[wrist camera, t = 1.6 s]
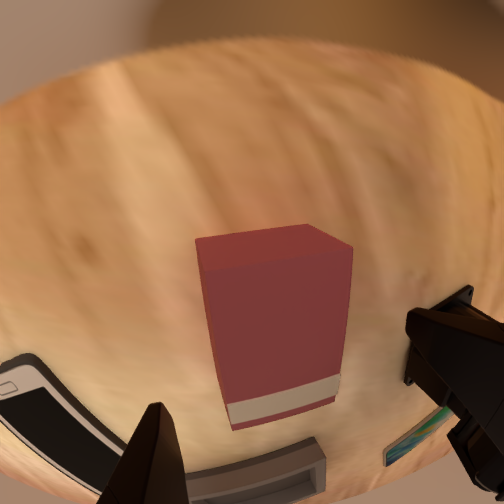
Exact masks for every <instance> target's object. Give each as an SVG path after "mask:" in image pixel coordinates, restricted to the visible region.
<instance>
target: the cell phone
mask: <svg viewBox="0 0 504 504" xmlns="http://www.w3.org/2000/svg"><path fill="white" fill-rule="evenodd" d="M0 422H1V423H2V424H3V425H4V426H5V427H6V428H7V429H8V430H9V431H11V432H12V433H13V434H14V435H15V436H16V437H17V438H18V439H19V440H21V441H22V442H23V443H24V444H25V445H26V446H28V447H29V448H30V449H31V450H32V451H34V452H35V453H36V454H37V455H39V456H40V457H41V458H43V459H44V460H45V461H47V462H48V463H49V464H51V465H52V466H53V467H55V468H56V469H58V470H59V471H60V472H62V473H63V474H65V475H66V476H68V477H69V478H71V479H72V480H74V481H76V482H77V483H79V484H80V485H82V486H84V487H85V488H87V489H89V490H90V491H92V492H94V493H96V494H98V495H100V496H101V494H102V492H103V490H104V488H105V486H106V485H108V484H107V482H108V481H109V479H110V477H111V475H112V473H113V471H114V469H115V467H116V465H117V463H118V461H119V460H120V458H121V456H122V454H123V452H124V450H125V448H126V446H127V444H126V443H125V442H123V441H122V440H121V439H120V438H118V437H117V436H116V435H115V434H114V433H113V432H111V431H110V430H109V429H108V428H107V427H106V426H105V425H103V424H102V423H101V422H100V421H99V420H98V419H97V418H96V417H95V416H94V415H93V414H91V413H90V412H89V411H88V410H87V409H86V408H85V407H84V406H83V405H82V404H81V403H80V402H79V401H78V400H77V399H76V398H75V397H74V396H73V395H72V394H71V393H70V391H69V390H68V389H67V388H66V387H65V386H64V385H63V384H62V383H61V382H60V380H59V379H58V378H57V377H56V376H55V375H54V374H53V372H52V371H51V370H50V369H49V368H48V367H47V366H46V365H45V364H44V363H43V362H42V360H41V359H40V358H39V357H37V356H36V355H34V354H31V353H25V354H21V355H19V356H16V357H14V358H13V359H11V360H8V361H6V362H3V363H2V364H1V366H0Z"/></svg>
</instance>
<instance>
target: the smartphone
mask: <svg viewBox="0 0 504 504" xmlns="http://www.w3.org/2000/svg"><path fill="white" fill-rule="evenodd" d="M453 415H454V413H453V412H452V411H451V410H450V409H449V408H448V407H447V406H445V407H444V408H442V407H440V406H439V407H438V408H437V409H435V410H434V411H433V412H432V413H431V414H430V415H428V416H427V417H426V418H425V419H424V420H422V421H421V422H420V423H419V424H417V425H416V426H415V427H413V428H412V429H411V430H410V431H408V432H407V433H406V434H404V435H403V436H401V437H400V438H399V439H397V440H396V441H394V442H393V443H392V444H390V445H389V446H387V447H386V448H385V449H384V450H383V465H384V466H385V467H387V466H389V465H391V464H392V463H394V462H395V461H397V460H398V459H399V458H401V457H402V456H404V455H405V454H406V453H408V452H409V451H411V450H412V449H413V448H415V447H416V446H417V445H418V444H420V443H421V442H422V441H424V440H425V439H426V438H427V437H428V436H430V435H431V434H432V433H433V432H434V431H436V430H437V429H438V428H439V427H440V426H441V425H443V424H444V423H445V422H446V421H447V420H448V419H449V418H450V417H451V416H453Z"/></svg>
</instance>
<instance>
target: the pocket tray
mask: <svg viewBox="0 0 504 504" xmlns="http://www.w3.org/2000/svg"><path fill="white" fill-rule="evenodd" d="M185 479H186V486H187V492H188V498H189V504H293V503H295V502H298V501H301V500H304V499H306V498H309V497H312V496H314V495H317V494H319V493H321V492H324V491H325V486H326V456H325V455H324V453H323V451H322V450H321V448H320V446H319V444H318V443H317V441H316V439H315V437H312V438H309V439H307V440H304V441H302V442H299V443H297V444H294V445H291V446H289V447H286V448H283V449H280V450H277V451H274V452H271V453H268V454H265V455H262V456H259V457H256V458H252V459H249V460H245V461H242V462H238V463H234V464H230V465H226V466H222V467H218V468H214V469H209V470H204V471H199V472H194V473H189V474H185Z"/></svg>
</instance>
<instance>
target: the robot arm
mask: <svg viewBox="0 0 504 504" xmlns="http://www.w3.org/2000/svg"><path fill="white" fill-rule="evenodd" d="M473 291H474V287H473V286H471V285H467V286H465V287H464V288H462V289H461V290H459V291H458V292H456V293H455V294H453V295H452V296H450V297H448V298H447V299H445V300H444V301H442V302H440V303H439V304H437V305H436V306H434V307H432V308H431V309H424V308H418V307H416V308H414V309H412V310H410V311H409V312H408V313H407V318H406V327H405V331H406V333H407V335H408V337H409V338H410V339H411V341H412V342H411V348H410V353H409V358H408V363H407V368H406V372H405V377H404V383H405V384H406V385H407V386H410V385H411V384H413V383H416V384H417V385H418V386H419V387H420V388H421V389H422V390H423V391H424V392H425V393H426V394H427V395H428V396H429V397H430V398H431V399H432V400H433V401H434V402H435V403H436V404H437V405H438V406H440V407H442V408H444V407H445V406H447V407H448V408H449V409H450V410H451V411H452V412H453V413H454V414H455V415H456V416H457V417H458V418H459V419H461V420H460V421H459V422H458V423H457V425H456V426H455V427H454V428H452V429H451V430H450V431H449V433H448V434H447V437H448V439H449V441H450V443H451V445H452V447H453V448H454V450H455V452H456V453H457V455H458V457H459V459H460V461H461V462H462V464H463V466H464V468H465V470H466V471H467V473H468V475H469V477H470V479H471V481H472V482H473V484H474V485H476V486H478V487H479V488H480V489H482V490H485V491H488V492H493V493H496V494H498V495H497V496H496V497H495V499H496V501H504V323H500V322H498V321H496V320H495V319H493V318H491V317H490V316H488V315H486V314H485V313H483V312H482V311H480V310H478V309H477V308H475V307H473V306H472V305H471V301H472V296H473ZM107 484H108V485H106V486H105V488H104V490H103V492H102V494H101V496H100V497H99V499H98V501H97V503H96V504H189V498H188V492H187V486H186V479H185V472H184V465H183V459H182V455H181V451H180V447H179V443H178V439H177V435H176V430H175V426H174V422H173V419H172V417H171V415H170V413H169V412H168V410H167V409H166V407H165V406H164V404H163V403H162V402H156V403H151V404H149V405H148V407H147V409H146V411H145V413H144V415H143V416H142V418H141V420H140V422H139V424H138V426H137V428H136V429H135V431H134V433H133V435H132V437H131V439H130V441H129V443H128V444H127V446H126V448H125V450H124V452H123V454H122V456H121V458H120V460H119V461H118V463H117V465H116V467H115V469H114V471H113V473H112V475H111V477H110V479H109V481H108V482H107Z"/></svg>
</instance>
